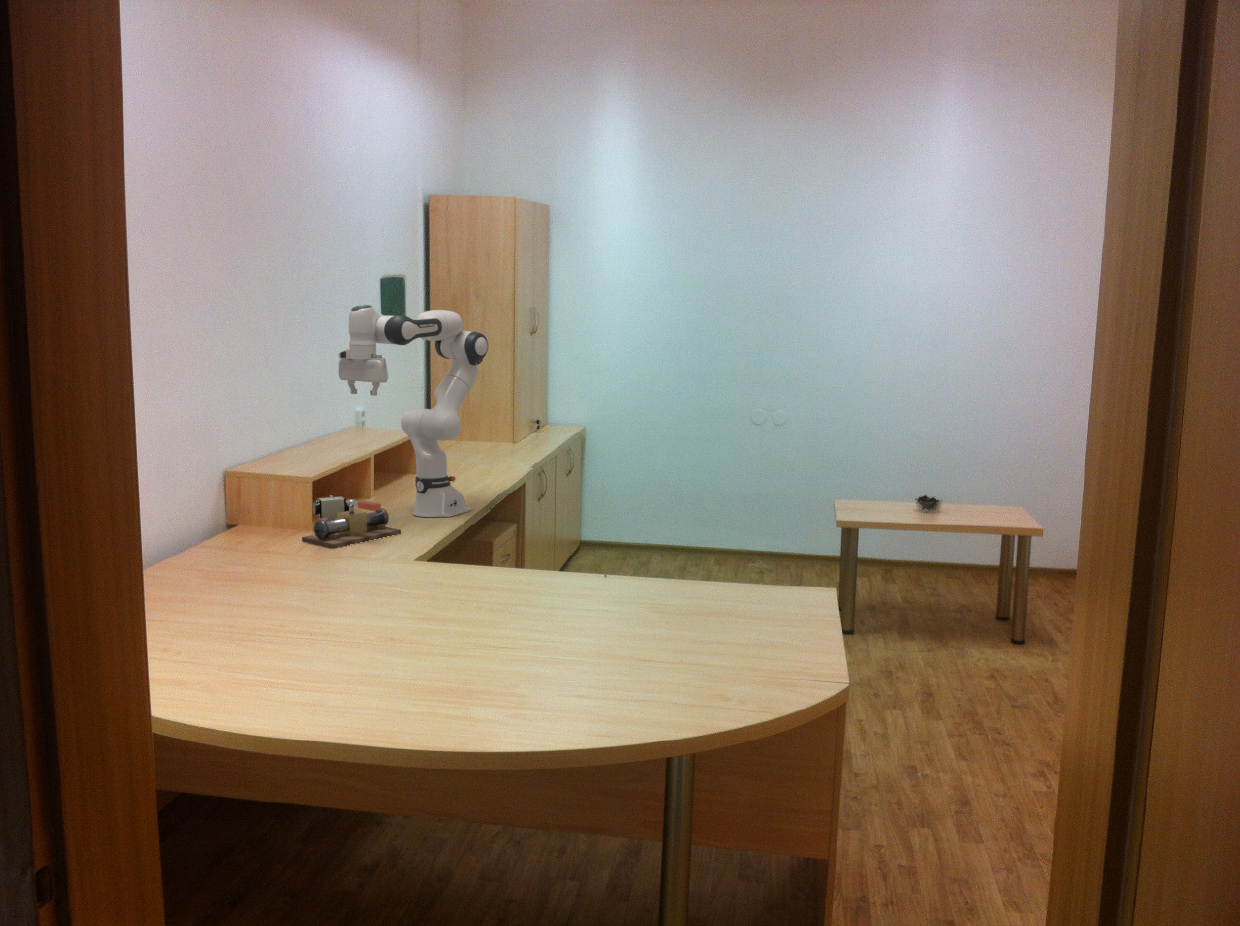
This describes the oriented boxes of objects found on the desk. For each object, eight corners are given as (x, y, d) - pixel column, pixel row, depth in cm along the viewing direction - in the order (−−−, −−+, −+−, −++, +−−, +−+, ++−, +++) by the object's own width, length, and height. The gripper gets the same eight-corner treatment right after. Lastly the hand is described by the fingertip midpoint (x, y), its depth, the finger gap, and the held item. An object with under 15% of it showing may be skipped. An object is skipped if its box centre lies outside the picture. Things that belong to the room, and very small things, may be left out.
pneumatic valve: (350, 529, 356) (349, 495, 355) (316, 532, 351) (315, 497, 349) (347, 526, 361) (346, 492, 360) (313, 529, 356) (311, 494, 354)
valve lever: (344, 505, 342) (344, 499, 341) (352, 504, 344) (352, 498, 344) (373, 511, 333) (373, 504, 333) (380, 509, 335) (380, 503, 335)
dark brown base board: (370, 527, 359) (369, 518, 359) (401, 534, 350) (400, 525, 349) (302, 541, 337) (301, 532, 337) (333, 548, 328) (332, 539, 327)
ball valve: (376, 525, 356) (376, 499, 354) (389, 528, 352) (388, 501, 350) (313, 538, 335) (312, 510, 334) (326, 541, 331) (325, 513, 330)
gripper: (391, 354, 346) (392, 395, 348) (348, 352, 357) (349, 392, 359) (378, 355, 341) (379, 397, 343) (334, 353, 352) (335, 393, 354)
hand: (363, 394), depth 351 cm, fingers open, 8 cm apart
